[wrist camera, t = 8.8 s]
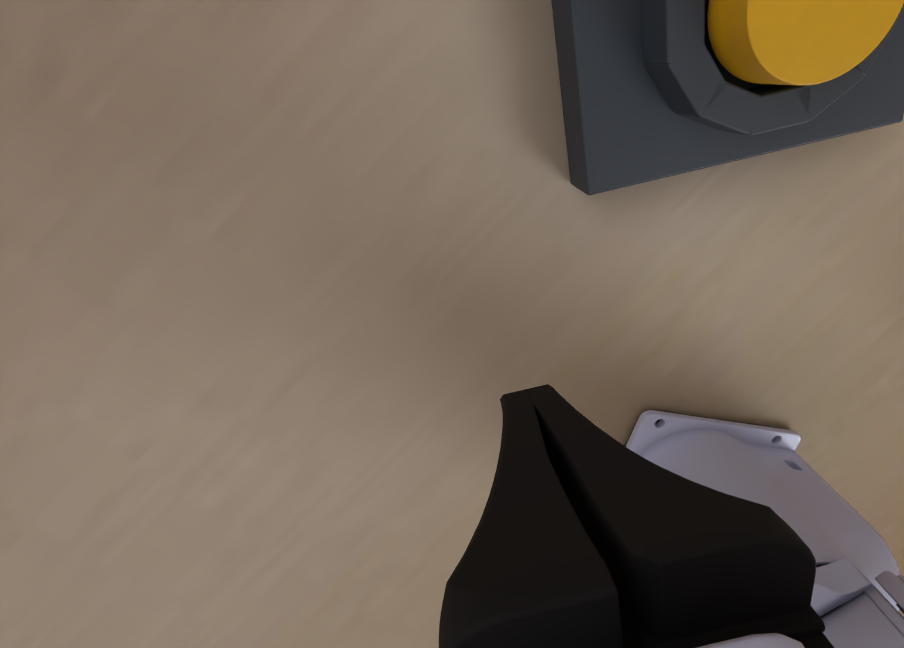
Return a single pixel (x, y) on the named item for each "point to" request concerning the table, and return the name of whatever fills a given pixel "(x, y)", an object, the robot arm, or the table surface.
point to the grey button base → (693, 94)
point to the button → (796, 37)
